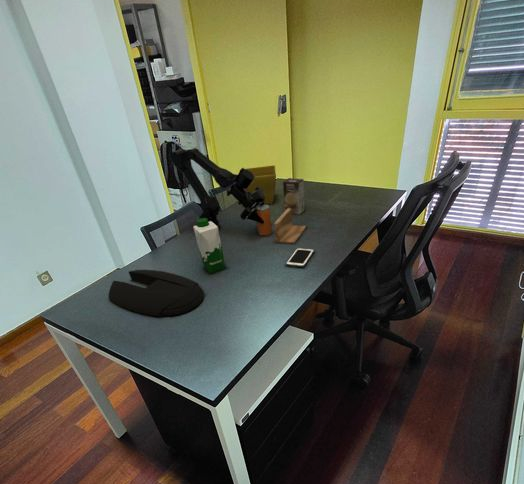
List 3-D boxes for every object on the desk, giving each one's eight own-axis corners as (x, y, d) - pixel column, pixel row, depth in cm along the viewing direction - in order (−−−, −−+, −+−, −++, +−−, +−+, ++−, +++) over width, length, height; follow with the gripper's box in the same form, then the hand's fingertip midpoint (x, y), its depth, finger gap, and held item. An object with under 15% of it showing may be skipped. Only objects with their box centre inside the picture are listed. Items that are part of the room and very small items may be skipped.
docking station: (174, 326, 110) (169, 314, 107) (99, 300, 129) (94, 289, 126) (219, 289, 125) (216, 277, 122) (146, 270, 144) (142, 260, 141)
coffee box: (284, 213, 178) (282, 181, 167) (289, 208, 182) (288, 177, 171) (299, 214, 173) (298, 182, 163) (304, 210, 177) (304, 178, 167)
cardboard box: (278, 205, 188) (275, 173, 177) (245, 209, 189) (240, 178, 179) (277, 194, 202) (275, 165, 192) (247, 198, 204) (242, 168, 193)
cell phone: (285, 266, 133) (285, 264, 132) (297, 249, 143) (297, 247, 142) (303, 268, 130) (303, 265, 129) (314, 251, 140) (314, 249, 139)
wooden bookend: (275, 242, 151) (274, 223, 145) (288, 226, 163) (287, 208, 157) (294, 243, 148) (293, 224, 142) (306, 227, 160) (305, 208, 154)
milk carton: (220, 260, 143) (210, 215, 130) (228, 268, 137) (219, 221, 124) (201, 267, 141) (189, 221, 128) (209, 275, 134) (197, 228, 121)
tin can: (257, 236, 159) (253, 210, 151) (260, 230, 163) (257, 204, 155) (270, 236, 157) (267, 209, 149) (273, 230, 162) (270, 204, 154)
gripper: (242, 189, 140) (269, 216, 143) (259, 176, 153) (283, 201, 156) (229, 207, 148) (255, 232, 151) (246, 193, 161) (269, 216, 164)
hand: (266, 220), depth 155 cm, fingers closed on tin can, 6 cm apart
